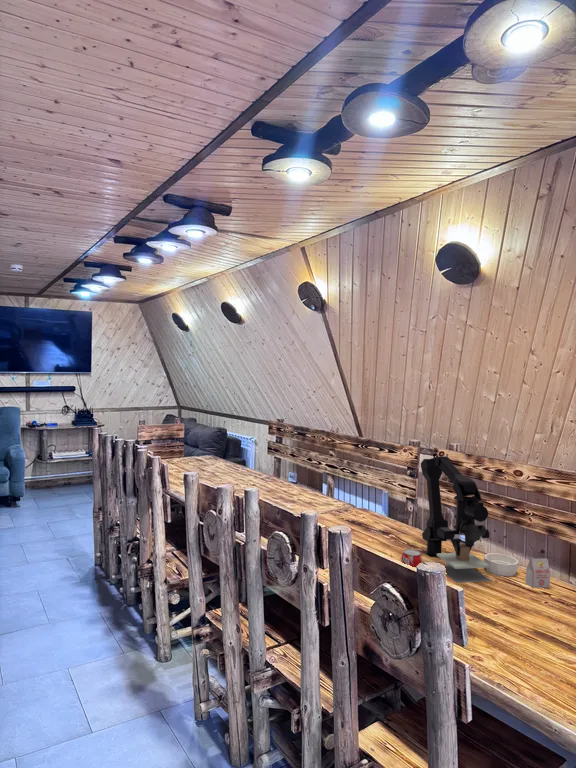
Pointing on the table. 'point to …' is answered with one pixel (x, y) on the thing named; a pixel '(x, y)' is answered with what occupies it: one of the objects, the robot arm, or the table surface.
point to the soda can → (411, 557)
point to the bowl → (501, 564)
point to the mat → (464, 574)
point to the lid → (462, 559)
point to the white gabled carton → (538, 573)
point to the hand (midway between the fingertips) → (462, 555)
